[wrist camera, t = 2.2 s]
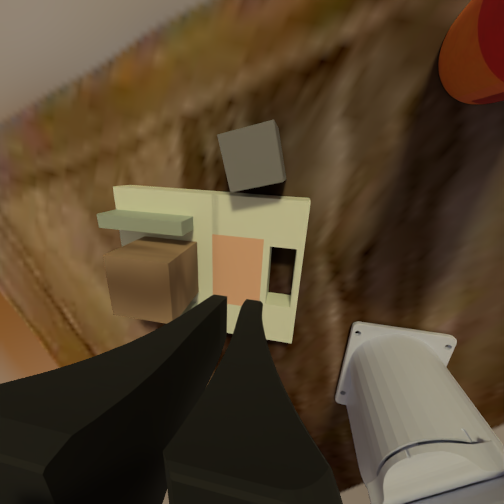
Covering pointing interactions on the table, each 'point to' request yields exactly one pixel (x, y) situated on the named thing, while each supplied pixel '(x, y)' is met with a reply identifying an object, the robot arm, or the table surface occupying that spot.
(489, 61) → the paper cup
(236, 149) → the charcoal block
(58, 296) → the table surface
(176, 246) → the walnut block
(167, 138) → the table surface
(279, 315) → the board
